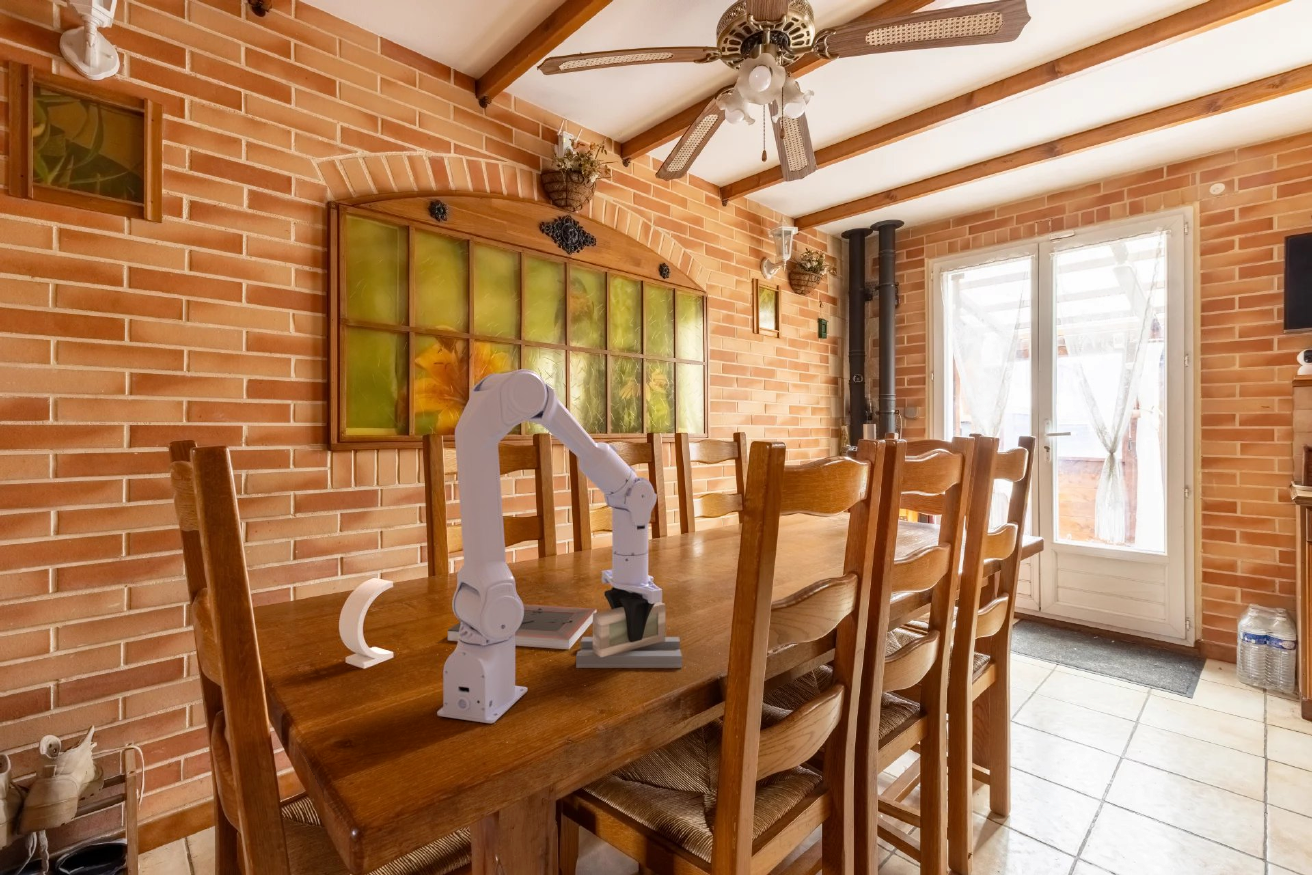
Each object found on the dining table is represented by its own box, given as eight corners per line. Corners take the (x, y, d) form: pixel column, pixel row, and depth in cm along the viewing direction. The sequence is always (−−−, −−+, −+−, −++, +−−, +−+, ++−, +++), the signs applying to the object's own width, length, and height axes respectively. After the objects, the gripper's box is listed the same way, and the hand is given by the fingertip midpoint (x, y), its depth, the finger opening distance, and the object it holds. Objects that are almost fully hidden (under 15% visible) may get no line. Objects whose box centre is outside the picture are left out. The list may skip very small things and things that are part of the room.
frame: (665, 640, 95) (665, 603, 95) (601, 657, 88) (601, 617, 88) (655, 635, 97) (656, 600, 97) (592, 651, 90) (592, 613, 90)
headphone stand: (393, 657, 92) (393, 581, 92) (357, 671, 87) (357, 591, 87) (375, 651, 94) (374, 577, 94) (339, 664, 89) (338, 586, 89)
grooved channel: (681, 667, 89) (681, 656, 89) (576, 667, 88) (576, 655, 88) (679, 647, 97) (679, 636, 97) (582, 647, 96) (582, 636, 96)
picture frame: (447, 644, 100) (569, 653, 96) (447, 629, 99) (569, 638, 96) (491, 613, 116) (596, 620, 112) (491, 601, 116) (596, 607, 112)
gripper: (678, 557, 89) (678, 645, 89) (626, 541, 100) (626, 619, 101) (640, 563, 84) (639, 656, 85) (590, 546, 96) (590, 627, 97)
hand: (629, 637), depth 92 cm, fingers open, 3 cm apart
